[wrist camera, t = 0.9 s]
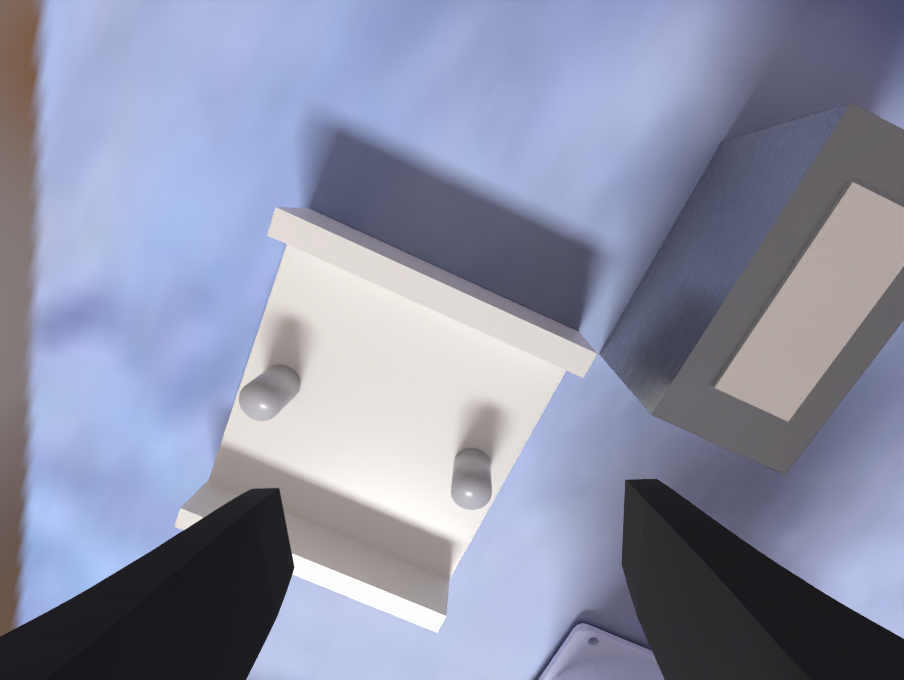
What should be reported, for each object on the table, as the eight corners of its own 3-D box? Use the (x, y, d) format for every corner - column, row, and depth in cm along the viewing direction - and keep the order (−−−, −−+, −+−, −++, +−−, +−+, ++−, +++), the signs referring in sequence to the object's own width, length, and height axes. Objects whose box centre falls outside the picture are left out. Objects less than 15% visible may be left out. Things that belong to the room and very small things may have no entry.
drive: (825, 194, 17) (1015, 182, 11) (692, 396, 19) (788, 477, 13) (720, 141, 16) (856, 100, 11) (598, 353, 19) (653, 417, 13)
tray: (578, 331, 19) (597, 353, 16) (442, 578, 22) (437, 632, 19) (308, 208, 18) (275, 207, 15) (215, 484, 22) (174, 526, 19)
